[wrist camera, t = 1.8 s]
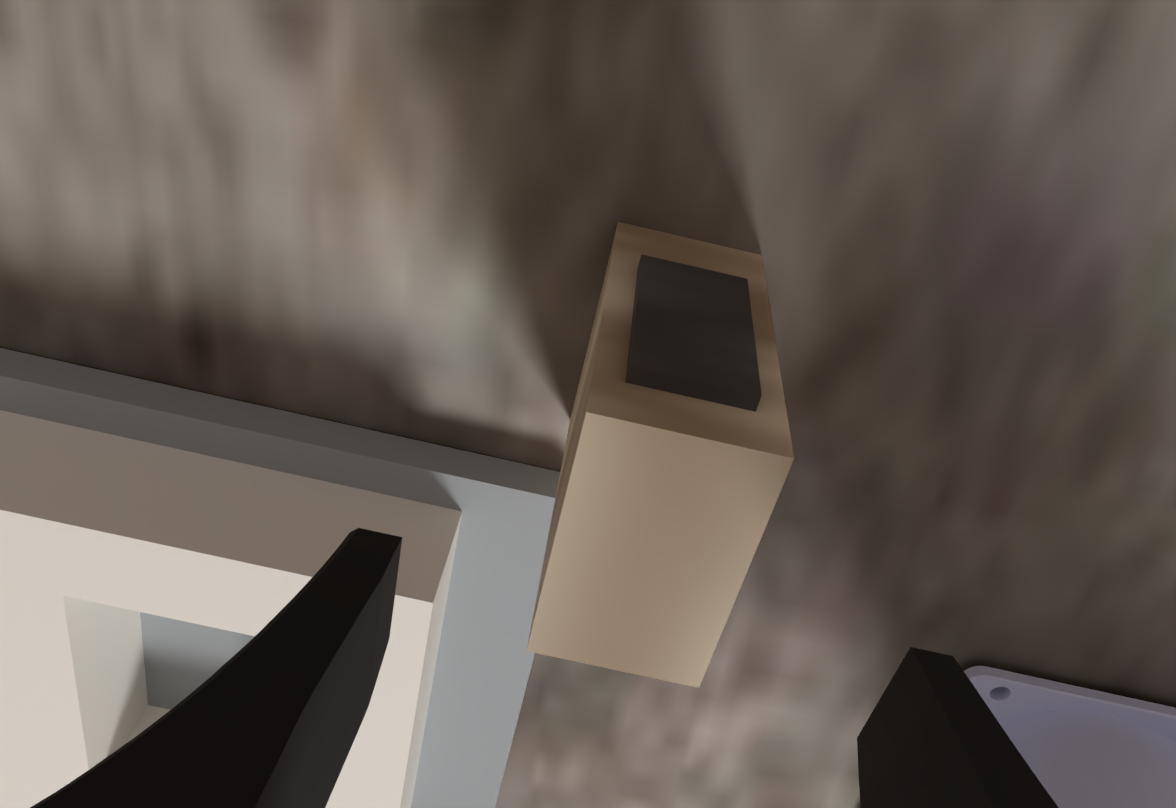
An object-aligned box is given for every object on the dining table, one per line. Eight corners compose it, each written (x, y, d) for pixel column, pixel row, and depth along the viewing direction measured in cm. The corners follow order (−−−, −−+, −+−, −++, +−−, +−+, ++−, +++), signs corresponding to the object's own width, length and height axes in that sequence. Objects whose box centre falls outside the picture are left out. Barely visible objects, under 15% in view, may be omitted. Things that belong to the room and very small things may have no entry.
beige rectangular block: (766, 241, 19) (801, 441, 13) (696, 448, 22) (699, 687, 16) (620, 208, 19) (590, 394, 13) (570, 419, 22) (526, 650, 16)
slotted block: (578, 475, 22) (559, 594, 19) (492, 810, 30) (467, 937, 27) (-91, 327, 22) (-232, 423, 19) (-5, 707, 30) (-93, 823, 26)
